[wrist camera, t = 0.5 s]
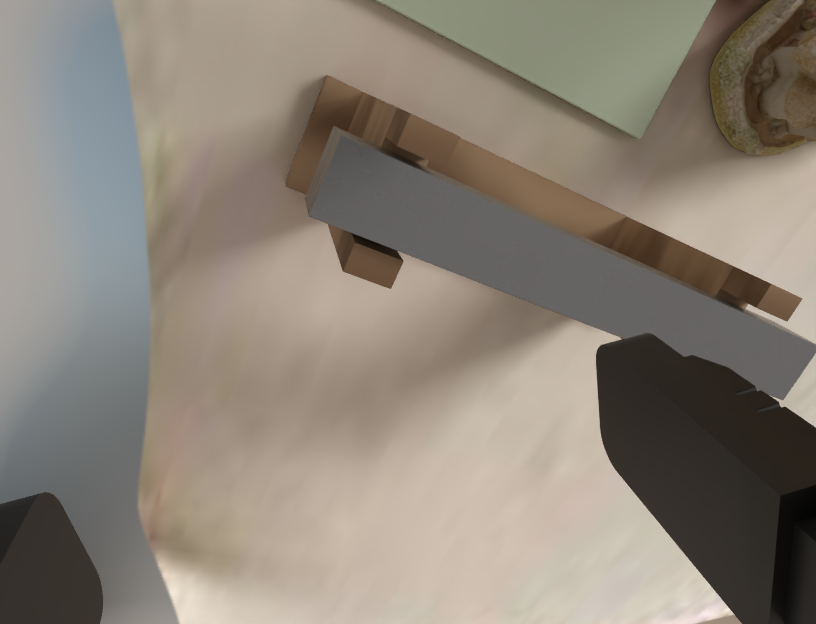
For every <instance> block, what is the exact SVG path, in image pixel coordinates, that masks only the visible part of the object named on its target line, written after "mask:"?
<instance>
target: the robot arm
mask: <svg viewBox="0 0 816 624" xmlns="http://www.w3.org/2000/svg"><path fill="white" fill-rule="evenodd" d="M596 369H597V385H598V400H599V416H600V430H601V437H602V441H603V444H604V448H605V450H606V453H607V455H608V457H609V460H610V461H611V463H612V465H613V467H614V468H615V470H616V471H617V472H618V473H619V475H620V476H621V477H622V478H623V480H624V481H625V482H626V483H627V484H628V486H629V487H630V488H631V489H632V490H633V492H634V493H635V494H636V495H637V497H638V498H639V499H640V500H641V501H642V503H643V504H644V505H645V506H646V508H647V509H648V510H649V511H650V512H651V514H652V515H653V516H654V517H655V518H656V520H657V521H658V522H659V523H660V525H661V526H662V527H663V528H664V529H665V531H666V532H667V533H668V534H669V535H670V537H671V538H672V539H673V540H674V542H675V543H676V544H677V545H678V546H679V548H680V549H681V550H682V551H683V552H684V554H685V555H686V556H687V557H688V559H689V560H690V561H691V562H692V563H693V565H694V566H695V567H696V568H697V569H698V571H699V572H700V573H701V574H702V576H703V577H704V578H705V579H706V580H707V582H708V583H709V584H710V585H711V586H712V588H713V589H714V590H715V591H716V593H717V594H718V595H719V596H720V597H721V599H722V600H723V601H724V602H725V603H726V605H727V606H728V607H729V608H730V610H731V611H732V612H733V613H734V614H735V616H736V617H737V618H738V619H739V620H740V622H741V623H742V624H816V428H815V427H814V426H813V425H811V424H810V423H808V422H807V421H805V420H804V419H802V418H801V417H800V416H798V415H797V414H795V413H794V412H792V411H791V410H789V409H788V408H786V407H782V408H781V407H780V405H779V402H778V401H776V400H775V399H773V398H772V397H770V396H769V395H768V394H766V393H765V392H763V391H762V390H760V391H757V389H756V386H755V385H753V384H752V383H750V382H749V381H747V380H746V379H744V378H743V377H741V376H740V375H739V374H737V373H736V372H734V371H733V370H731V369H730V368H728V367H726V366H723V365H720V364H717V363H714V362H711V361H709V360H706V359H703V358H700V357H697V356H694V355H690V356H686V357H683V356H682V355H681V354H679V353H678V352H677V351H675V350H674V349H673V348H671V347H670V346H669V345H667V344H666V343H665V342H663V341H662V340H660V339H659V338H658V337H656V336H655V335H653V334H651V333H645V334H641V335H637V336H633V337H630V338H626V339H622V340H618V341H615V342H611V343H607V344H603V345H601V346H600V347H599V348H598V350H597V354H596ZM102 610H103V594H102V586H101V582H100V578H99V575H98V573H97V570H96V568H95V566H94V565H93V563H92V561H91V559H90V557H89V555H88V553H87V552H86V550H85V548H84V546H83V544H82V542H81V540H80V538H79V537H78V535H77V533H76V531H75V529H74V527H73V525H72V524H71V521H70V520H69V518H68V516H67V514H66V512H65V511H64V508H63V506H62V505H61V503H60V501H59V500H58V499H57V498H56V497H55V496H54V495H53V494H50V493H47V492H45V493H41V494H37V495H33V496H29V497H25V498H22V499H18V500H14V501H11V502H7V503H3V504H0V624H100V620H101V616H102Z"/></svg>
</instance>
